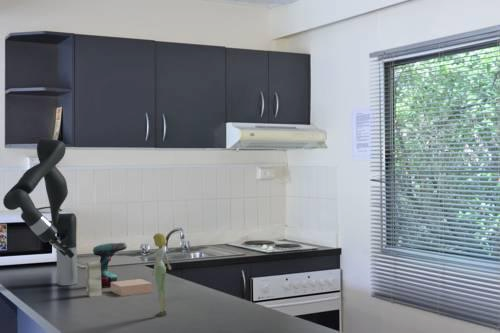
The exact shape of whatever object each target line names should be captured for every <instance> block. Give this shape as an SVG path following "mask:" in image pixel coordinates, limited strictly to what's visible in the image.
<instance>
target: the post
mask: <svg viewBox="0 0 500 333" xmlns="http://www.w3.org/2000/svg"><path fill="white" fill-rule="evenodd" d="M85 277H86V278H85V279H86V282H85V283H86V284H85V285H86V296H88V297H89V298H93V297H101V296H102V295H103V294H102V287H101V263H100V261H89V262H85Z"/></svg>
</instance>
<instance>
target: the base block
mask: <svg viewBox="0 0 500 333" xmlns="http://www.w3.org/2000/svg"><path fill="white" fill-rule="evenodd" d="M110 292H112V293H114V294H116V295H118V296H120V297H124V296H125V297H126V296H133V295H142V294H150V293H151V294H152V293H153V282H150V281H147V280H145V279H142V278H137V279H126V280H119V281H118V280H117V281H116V282H111V287H110Z"/></svg>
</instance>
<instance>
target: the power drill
mask: <svg viewBox="0 0 500 333" xmlns="http://www.w3.org/2000/svg"><path fill="white" fill-rule="evenodd" d="M127 247H128V246H127V243H125V242H108V243H104V244H103V243H102V244H99V245H96V246H94V247H93V249H92V252H93V254H94V255H95V256H97V257H98V256H99V257H100V260H99V262H100V263H101V288H111V282H116V281H118V275H117V274H114V273H111V272H109V270H108V269H109V263H110V262H111V261H112V260H113V259H112V257H113V256H114V255H115V254H116V253H117V252H121V251H124V250H126V249H127Z"/></svg>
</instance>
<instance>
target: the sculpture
mask: <svg viewBox="0 0 500 333" xmlns="http://www.w3.org/2000/svg"><path fill="white" fill-rule="evenodd" d="M153 241H154V246H156V247H159V248H158V249H157V250H156V251H155V252H154V253H153V256H154V258H155V260H154V264H153V269H152V270H151V271H150V272H151V276H154V277H155V284H156V289H157V294H158V304H159V307H160V311H159V312H158V313H156V314H154V316H155V317H164V316H167V312H166V311H167V310H166V306H167V292H166V291H165V282H166V279H167V278H166V277H167V269H168V270H170V271H171V270H172V265H171V264H170V263H169V258H168V256H167V253H166V250H165V247H164V246H166V244H168V243H167V242H168V240H167V239H166V236H165V235H164V233H161V232H158V233H156V234H155V233H154V236H153ZM163 260H165V262H166V264H167V266H166V264H164V262H163Z"/></svg>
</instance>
